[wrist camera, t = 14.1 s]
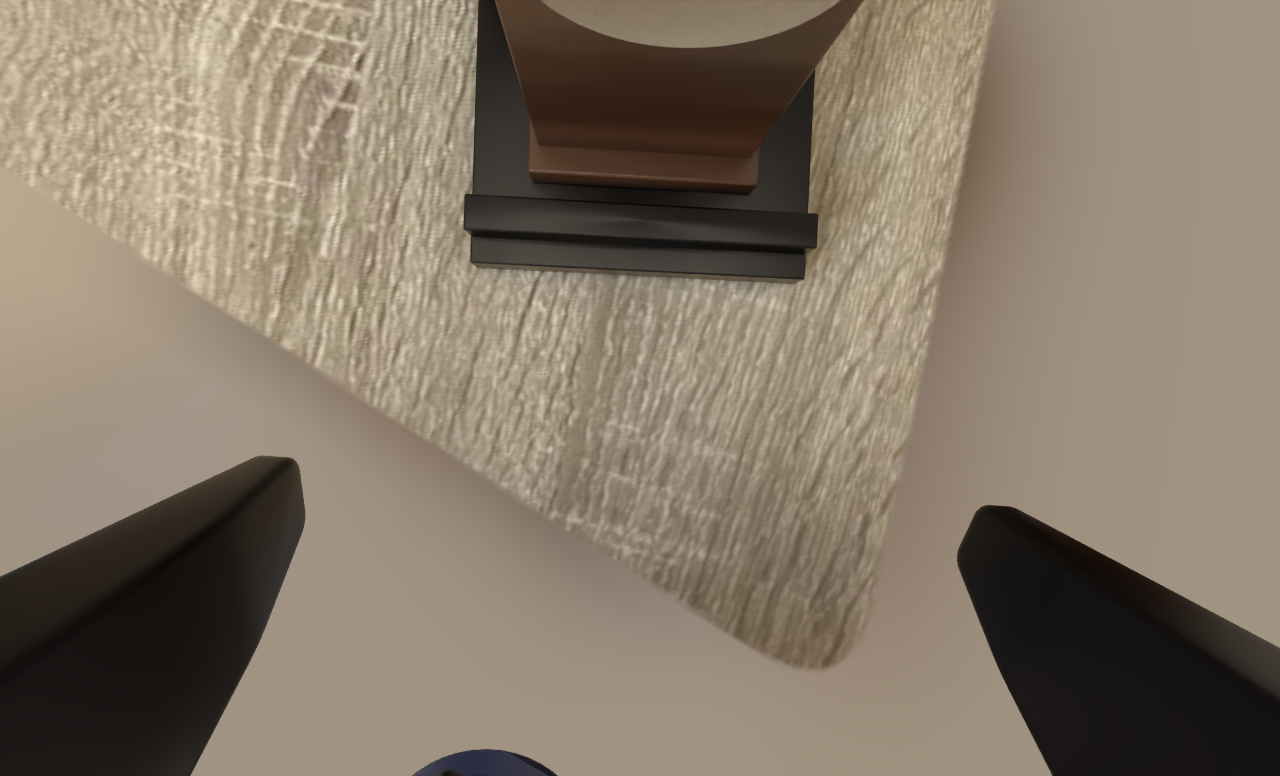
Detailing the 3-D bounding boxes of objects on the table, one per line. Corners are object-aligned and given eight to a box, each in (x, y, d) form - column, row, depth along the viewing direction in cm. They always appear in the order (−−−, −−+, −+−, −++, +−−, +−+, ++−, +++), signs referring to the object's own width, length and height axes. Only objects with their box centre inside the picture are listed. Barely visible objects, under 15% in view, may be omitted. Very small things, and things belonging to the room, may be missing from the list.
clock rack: (794, 283, 20) (858, 257, 15) (476, 267, 19) (432, 234, 14) (811, -38, 20) (881, -175, 15) (487, -64, 19) (445, -216, 14)
